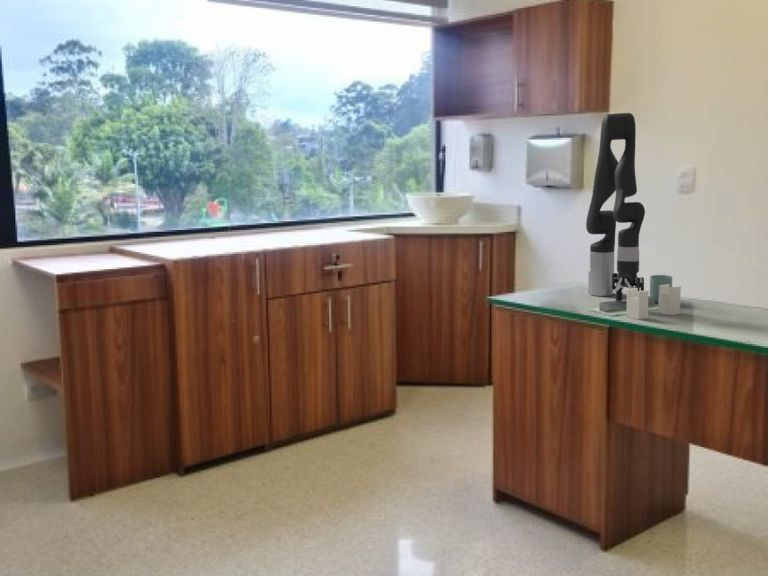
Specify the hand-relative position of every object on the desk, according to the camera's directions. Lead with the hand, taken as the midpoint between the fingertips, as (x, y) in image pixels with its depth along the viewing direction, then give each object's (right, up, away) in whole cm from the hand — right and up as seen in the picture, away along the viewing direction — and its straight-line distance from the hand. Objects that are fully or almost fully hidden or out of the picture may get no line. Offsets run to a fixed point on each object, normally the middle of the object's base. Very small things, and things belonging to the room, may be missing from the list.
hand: (627, 303), depth 275 cm
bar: (0, -2, 0) cm, 2 cm away
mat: (0, -2, 0) cm, 2 cm away
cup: (+15, 0, +10) cm, 18 cm away
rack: (+6, -4, -10) cm, 12 cm away
